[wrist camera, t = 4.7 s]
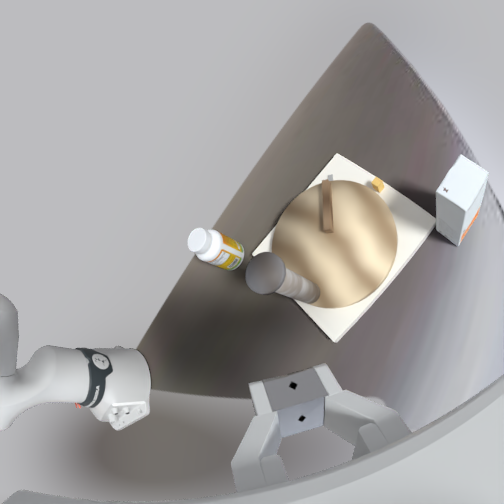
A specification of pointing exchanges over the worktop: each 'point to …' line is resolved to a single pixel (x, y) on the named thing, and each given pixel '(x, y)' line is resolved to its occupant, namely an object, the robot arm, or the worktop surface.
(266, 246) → the dial stand
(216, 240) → the supplement bottle
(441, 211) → the skincare box
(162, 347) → the worktop surface
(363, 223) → the dial
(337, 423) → the robot arm
